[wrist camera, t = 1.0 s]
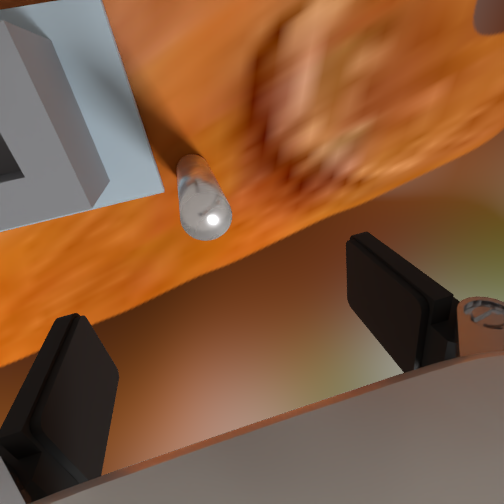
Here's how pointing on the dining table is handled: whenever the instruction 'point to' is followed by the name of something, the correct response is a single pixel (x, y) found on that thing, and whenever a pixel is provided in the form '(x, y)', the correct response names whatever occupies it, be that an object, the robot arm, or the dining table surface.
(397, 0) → the dining table surface
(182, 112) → the dining table surface
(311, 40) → the dining table surface
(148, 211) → the dining table surface
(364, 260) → the robot arm
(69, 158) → the grey socket block
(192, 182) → the key peg
